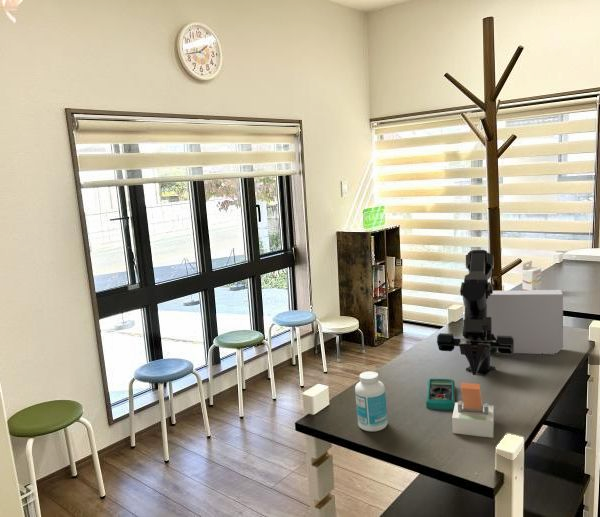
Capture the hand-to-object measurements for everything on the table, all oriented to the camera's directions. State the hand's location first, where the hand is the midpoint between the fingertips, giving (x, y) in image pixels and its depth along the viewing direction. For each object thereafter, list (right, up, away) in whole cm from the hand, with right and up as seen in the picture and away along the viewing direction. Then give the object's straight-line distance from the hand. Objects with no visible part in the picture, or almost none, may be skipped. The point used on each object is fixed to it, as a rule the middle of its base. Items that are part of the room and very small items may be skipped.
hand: (474, 374), depth 127 cm
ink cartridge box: (+62, +13, +102) cm, 120 cm away
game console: (+27, -1, +39) cm, 48 cm away
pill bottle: (-26, -13, 0) cm, 29 cm away
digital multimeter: (-5, -9, +12) cm, 16 cm away
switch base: (-2, -11, -6) cm, 13 cm away
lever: (-2, -7, -6) cm, 10 cm away
